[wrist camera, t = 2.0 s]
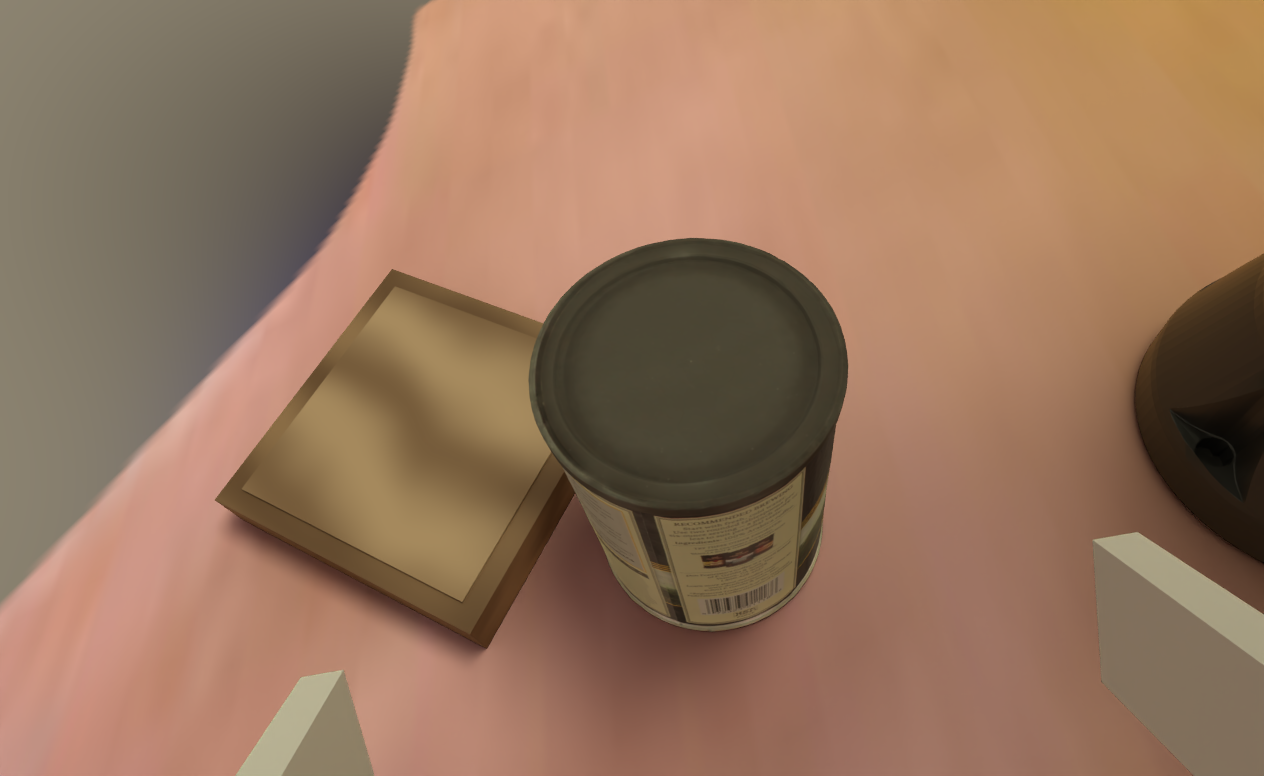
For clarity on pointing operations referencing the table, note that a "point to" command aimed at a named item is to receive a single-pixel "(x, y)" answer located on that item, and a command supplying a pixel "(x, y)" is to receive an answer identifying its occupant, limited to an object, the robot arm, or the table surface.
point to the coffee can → (696, 423)
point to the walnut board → (415, 458)
